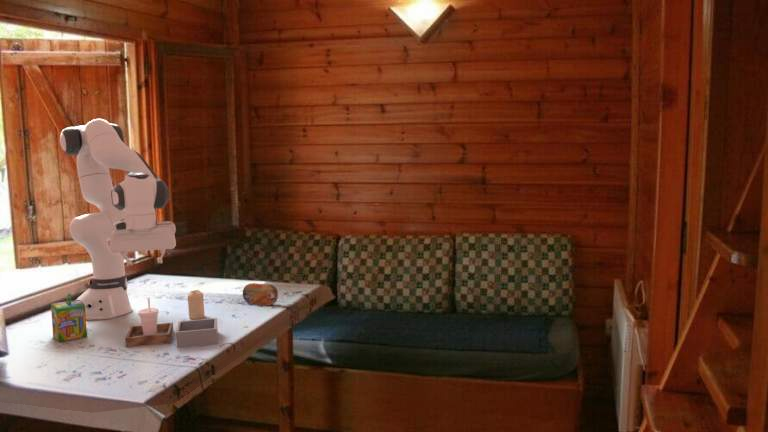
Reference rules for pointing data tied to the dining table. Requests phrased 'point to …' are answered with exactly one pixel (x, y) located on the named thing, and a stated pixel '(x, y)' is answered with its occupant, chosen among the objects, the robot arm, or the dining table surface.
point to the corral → (149, 339)
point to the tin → (260, 294)
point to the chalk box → (69, 320)
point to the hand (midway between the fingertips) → (144, 264)
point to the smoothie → (149, 320)
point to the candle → (196, 304)
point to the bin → (196, 332)
